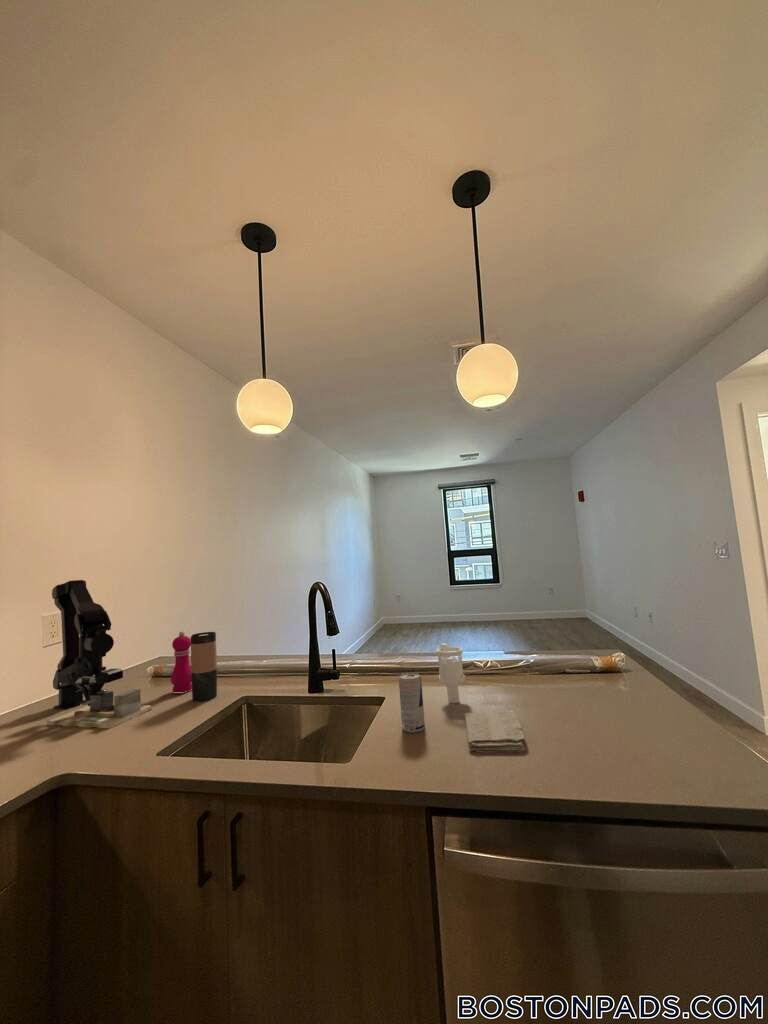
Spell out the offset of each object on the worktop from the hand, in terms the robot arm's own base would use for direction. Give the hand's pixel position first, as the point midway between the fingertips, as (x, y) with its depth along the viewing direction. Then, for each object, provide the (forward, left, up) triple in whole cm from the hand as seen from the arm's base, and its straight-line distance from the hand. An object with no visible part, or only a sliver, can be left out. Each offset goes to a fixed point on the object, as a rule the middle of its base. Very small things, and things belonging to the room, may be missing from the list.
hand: (90, 705), depth 124 cm
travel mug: (+25, +18, -3) cm, 31 cm away
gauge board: (+4, 0, -3) cm, 5 cm away
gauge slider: (+4, -2, -2) cm, 5 cm away
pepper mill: (+11, +24, -3) cm, 27 cm away
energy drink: (+97, +2, -3) cm, 97 cm away
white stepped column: (+104, +21, -3) cm, 106 cm away
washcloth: (+115, +1, -4) cm, 115 cm away
